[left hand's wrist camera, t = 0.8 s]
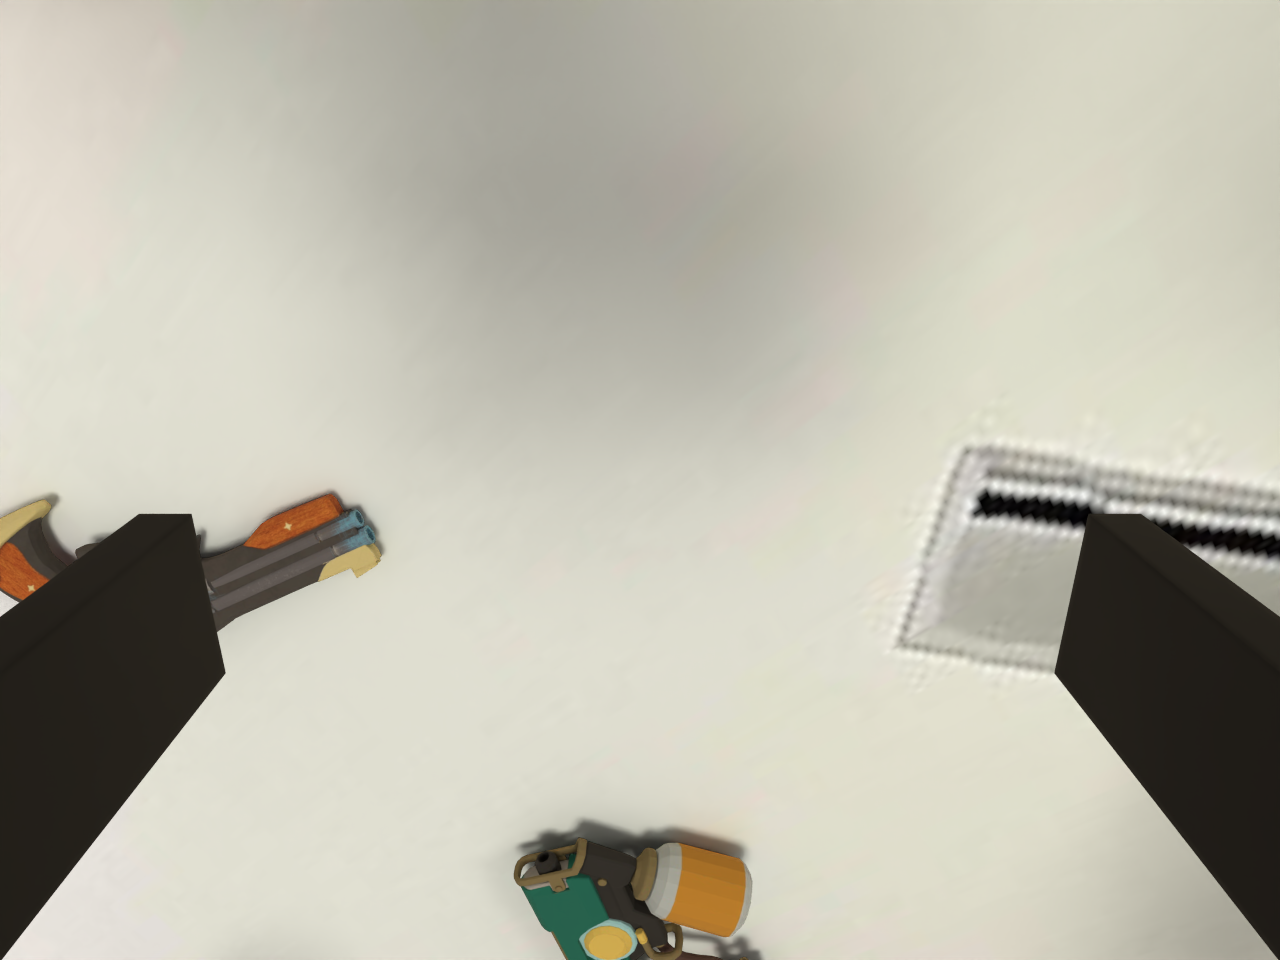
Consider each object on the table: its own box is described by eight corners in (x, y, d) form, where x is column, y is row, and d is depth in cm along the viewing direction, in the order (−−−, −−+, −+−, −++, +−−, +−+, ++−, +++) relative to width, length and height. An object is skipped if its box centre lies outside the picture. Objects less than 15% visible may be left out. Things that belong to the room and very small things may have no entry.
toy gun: (-69, 549, 41) (47, 719, 43) (277, 387, 39) (379, 571, 42) (-27, 533, 43) (80, 694, 46) (299, 380, 42) (394, 554, 44)
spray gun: (765, 1001, 56) (542, 1001, 57) (771, 814, 49) (517, 816, 50) (773, 1068, 53) (533, 1067, 53) (780, 875, 46) (504, 877, 46)
